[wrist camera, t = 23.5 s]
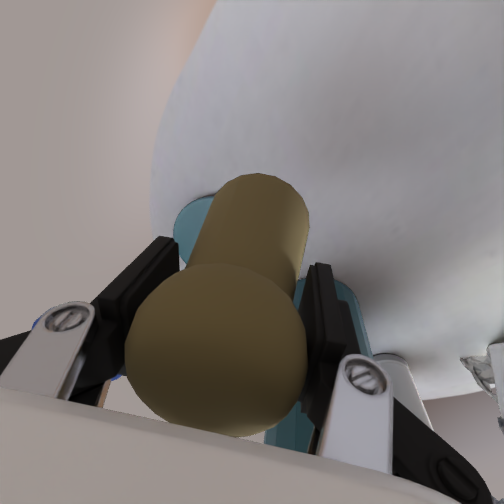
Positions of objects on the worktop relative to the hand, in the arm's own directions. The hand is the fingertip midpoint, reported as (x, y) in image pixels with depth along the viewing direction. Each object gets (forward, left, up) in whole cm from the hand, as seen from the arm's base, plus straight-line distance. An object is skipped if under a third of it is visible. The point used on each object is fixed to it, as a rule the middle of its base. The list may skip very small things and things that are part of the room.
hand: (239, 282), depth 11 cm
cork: (0, 0, -6) cm, 6 cm away
